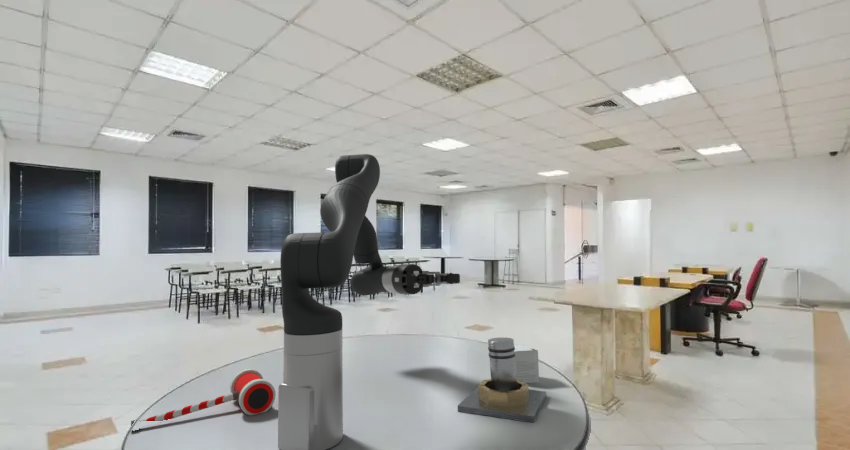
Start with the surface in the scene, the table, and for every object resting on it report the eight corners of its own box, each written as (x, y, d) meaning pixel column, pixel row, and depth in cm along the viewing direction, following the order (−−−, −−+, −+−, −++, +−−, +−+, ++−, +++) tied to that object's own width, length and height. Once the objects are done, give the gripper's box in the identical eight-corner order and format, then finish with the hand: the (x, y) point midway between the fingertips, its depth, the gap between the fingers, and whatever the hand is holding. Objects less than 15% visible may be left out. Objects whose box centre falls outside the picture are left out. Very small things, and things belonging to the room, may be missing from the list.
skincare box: (504, 377, 94) (503, 345, 95) (527, 375, 96) (526, 344, 96) (515, 384, 89) (513, 351, 89) (540, 382, 90) (538, 349, 90)
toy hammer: (129, 445, 63) (131, 404, 64) (131, 422, 73) (133, 386, 73) (275, 411, 76) (276, 378, 77) (261, 396, 86) (262, 366, 87)
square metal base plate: (534, 422, 68) (533, 401, 68) (457, 411, 73) (457, 391, 74) (546, 396, 80) (545, 378, 80) (480, 388, 86) (479, 372, 86)
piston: (516, 402, 74) (511, 342, 75) (489, 400, 76) (484, 342, 77) (520, 393, 79) (515, 337, 80) (495, 392, 81) (490, 337, 82)
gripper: (379, 264, 97) (420, 262, 84) (423, 264, 106) (467, 262, 93) (379, 295, 96) (420, 297, 84) (424, 292, 105) (468, 294, 92)
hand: (445, 278), depth 88 cm, fingers open, 8 cm apart
